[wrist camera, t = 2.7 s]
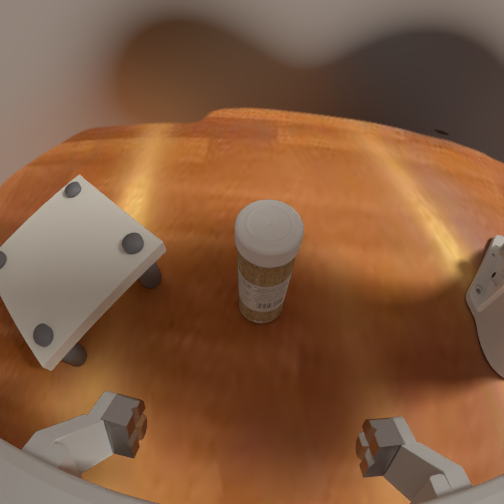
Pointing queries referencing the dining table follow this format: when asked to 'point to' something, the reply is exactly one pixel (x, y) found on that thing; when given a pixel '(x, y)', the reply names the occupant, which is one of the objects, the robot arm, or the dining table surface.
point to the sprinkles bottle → (266, 257)
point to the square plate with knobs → (73, 269)
